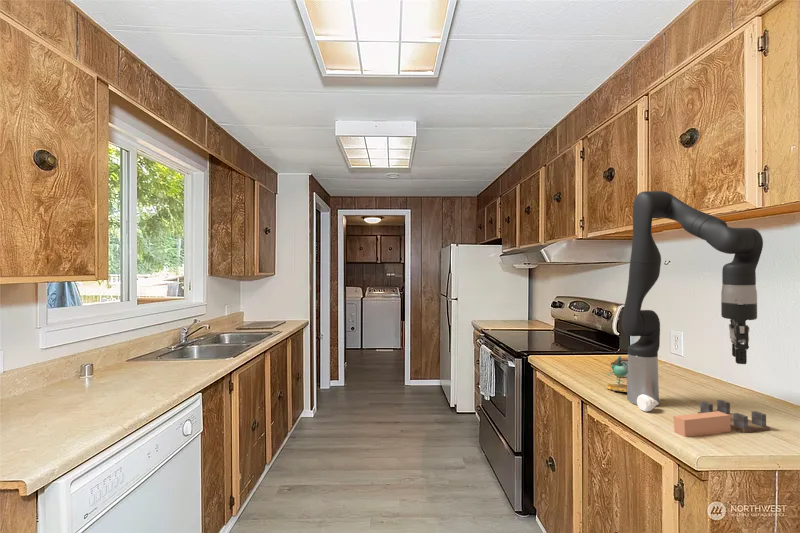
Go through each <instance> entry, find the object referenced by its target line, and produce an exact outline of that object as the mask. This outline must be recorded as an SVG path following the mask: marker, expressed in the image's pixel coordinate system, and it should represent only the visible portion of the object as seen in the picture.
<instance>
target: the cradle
mask: <svg viewBox="0 0 800 533" xmlns="http://www.w3.org/2000/svg"><path fill="white" fill-rule="evenodd" d="M699 404H700V411H698V412H697V414H698V413H707V412H716V411H719V412H722V413H725V414H728V415H730V429H733V430H736V431H738V432H741V433H743V434H746V433H755V432H757V433H758V432H765V431H770V430H771V429H770V426H768V425H767V414H765V413H762V412H760V411H757V410H756V411H755V410H752V411H751V412H750V413H751V419H749V417H748V415H745V414H743V413H739V412H733V413H731V402H729V401H725V400H723V399H717V400H716V404H717V405H716V406H717V408H716V409H715V410H714V408H713V407H714V405H713V403H710V402H708V401H704V400H703V401H700V403H699Z"/></svg>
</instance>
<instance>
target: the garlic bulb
mask: <svg viewBox="0 0 800 533" xmlns="http://www.w3.org/2000/svg"><path fill="white" fill-rule="evenodd" d="M656 405H658V402H657V401H656V400H654V399H653V398H651V397H649V396H647V395H644V394H642V395H639V396H638V398H637V407H638V408H639V410H641V411H643V412H647V413H648V412H651V411H652V410H653V409H654V408H655V407H657V406H656ZM658 406H659V405H658Z"/></svg>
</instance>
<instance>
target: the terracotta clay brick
mask: <svg viewBox="0 0 800 533" xmlns="http://www.w3.org/2000/svg"><path fill="white" fill-rule="evenodd" d="M673 427H674V428H673V430H674V431H673V432H674V433H675V434H677V435H679V436H682V437H684V438H688V436H689V437H696V436H695V435H697V436H703V434H705V435H711V434H713V433H714V434H719V433H720V434H722V433H728V432H731V428H730V415H728V414H725V413H722V412H719V411H716V412H707V413H698V412H697V413H691V414H690V413H689V414H682V415H673ZM721 432H722V433H721Z"/></svg>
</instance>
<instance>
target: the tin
mask: <svg viewBox="0 0 800 533" xmlns="http://www.w3.org/2000/svg"><path fill="white" fill-rule="evenodd" d="M613 362H614V366H615V365H616V364H617V363H618V358H617V359H615V360H614V361H613ZM623 362H625V363H626V365H625V364H623V365H625V368H626V371H627V372H629V371H628V357H621V363H623ZM611 370H613V368H611ZM621 378H622V379H624V378H625V379H627V373H626V375H625V376H624V377H621Z"/></svg>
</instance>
